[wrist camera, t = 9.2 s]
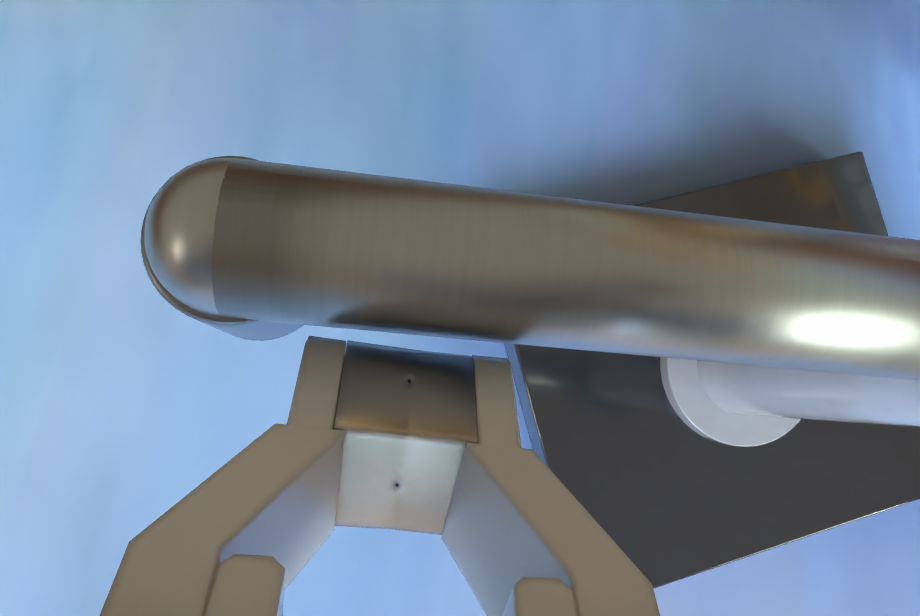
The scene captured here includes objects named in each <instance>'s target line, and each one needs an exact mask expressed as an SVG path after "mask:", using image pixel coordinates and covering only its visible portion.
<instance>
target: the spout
mask: <svg viewBox="0 0 920 616" xmlns="http://www.w3.org/2000/svg"><path fill="white" fill-rule="evenodd" d="M141 253H142V258H143V262H144V266H145V268H146V271H147V274H148V276H149V278H150V280H151V281H152V283H153V285H154V286H155V288H156V289H157V290H158V292H159V293H160V294H161V295H162V297H163V298H164V299H165V300H166V301H167V302H168V303H170V304H171V305H172V306H173V307H175V308H176V309H177V310H179V311H180V312H182V313H184V314H185V315H187V316H189V317H192V318H194V319H196V320H199V321H201V322H203V323H206V324H208V325H210V326H213V327H215V328H217V329H219V330H222V331H224V332H226V333H229V334H231V335H233V336H236V337H239V338H243V339H248V340H259V341H263V340H272V339H276V338H280V337H283V336H286V335H288V334H290V333H292V332H294V331H296V330H297V329H299V328H300V327H302V326H303V325H315V326H325V327H336V328H347V329H358V330H369V331H380V332H391V333H402V334H413V335H424V336H435V337H446V338H457V339H468V340H479V341H490V342H500V343H511V344H522V345H533V346H544V347H555V348H566V349H577V350H588V351H599V352H610V353H621V354H632V355H643V356H654V357H665V358H675V359H686V360H697V361H708V362H719V363H730V364H741V365H752V366H763V367H774V368H785V369H796V370H807V371H818V372H829V373H840V374H850V375H861V376H872V377H883V378H894V379H905V380H916V381H920V240H913V239H905V238H897V237H888V236H880V235H872V234H863V233H855V232H847V231H838V230H830V229H822V228H813V227H805V226H797V225H789V224H780V223H772V222H764V221H755V220H747V219H739V218H730V217H722V216H714V215H705V214H697V213H689V212H680V211H672V210H664V209H655V208H647V207H639V206H630V205H622V204H614V203H605V202H597V201H589V200H580V199H572V198H564V197H555V196H547V195H539V194H530V193H522V192H514V191H505V190H497V189H489V188H480V187H472V186H464V185H455V184H447V183H439V182H430V181H422V180H414V179H405V178H397V177H389V176H380V175H372V174H364V173H356V172H347V171H339V170H331V169H322V168H314V167H306V166H297V165H289V164H281V163H272V162H264V161H259V160H256V159H252V158H246V157H240V156H222V157H214V158H209V159H205V160H202V161H199V162H196V163H194V164H192V165H189V166H187V167H185V168H184V169H182V170H181V171H179V172H178V173H176V174H175V175H173V176H172V177H170V178H169V179H168V180H167V181H166V183H165V184H164V185H163V186H162V187H161V188H160V189H159V190H158V192H157V193H156V195H155V196H154V197H153V199H152V201H151V203H150V205H149V207H148V209H147V211H146V214H145V217H144V220H143V225H142V230H141Z"/></svg>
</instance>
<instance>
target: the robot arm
mask: <svg viewBox="0 0 920 616" xmlns="http://www.w3.org/2000/svg"><path fill="white" fill-rule="evenodd" d="M335 526H348V527H366V528H383V529H395V530H404V531H413V532H422V533H431V534H440V535H442V539H443V541H444V543H445V544H446V546H447V548H448V549H449V551H450V553H451V555H452V556H453V558H454V560H455V562H456V563H457V565H458V567H459V568H460V570H461V572H462V574H463V575H464V577H465V579H466V581H467V582H468V584H469V586H470V587H471V589H472V591H473V593H474V594H475V596H476V598H477V600H478V601H479V603H480V605H481V606H482V608H483V610H484V612H485V613H486V615H487V616H660V613H659V609H658V606H657V602H656V598H655V594H654V590H653V586H652V584H651V582H650V581H649V580H648V579H647V578H646V577H645V576H644V575H643V573H642V572H641V571H640V570H639V569H638V568H637V567H636V566H635V564H634V563H633V562H632V561H631V560H630V559H629V558H628V557H627V555H626V554H625V553H624V552H623V551H622V550H621V549H620V548H619V546H618V545H617V544H616V543H615V542H614V541H613V540H612V539H611V537H610V536H609V535H608V534H607V533H606V532H605V531H604V530H603V528H602V527H601V526H600V525H599V524H598V523H597V522H596V521H595V520H594V518H593V517H592V516H591V515H590V514H589V513H588V512H587V511H586V509H585V508H584V507H583V506H582V505H581V504H580V503H579V502H578V500H577V499H576V498H575V497H574V496H573V495H572V494H571V493H570V491H569V490H568V489H567V488H566V487H565V486H564V485H563V484H562V482H561V481H560V480H559V479H558V478H557V477H556V476H555V475H554V473H553V472H552V471H551V470H550V469H549V468H548V467H547V466H546V465H545V463H544V462H543V461H542V460H541V459H540V458H539V457H538V456H537V454H536V453H535V452H534V451H533V450H532V449H523V448H521V441H520V433H519V425H518V417H517V409H516V401H515V393H514V385H513V377H512V369H511V363H510V362H509V360H508V359H505V358H495V357H484V356H474V355H472V357H471V356H467V355H458V354H449V353H440V352H430V351H421V350H413V349H406V348H398V347H391V346H384V345H377V344H370V343H362V342H355V341H347V346H346V341H343V340H336V339H329V338H321V337H314V336H309V337H308V339H307V341H306V343H305V347H304V352H303V356H302V360H301V365H300V369H299V373H298V378H297V382H296V387H295V391H294V395H293V400H292V404H291V408H290V413H289V417H288V422H287V425H284V424H274V425H273V426H272V427H270V428H269V429H268V430H267V431H266V432H264V433H263V434H262V435H261V436H259V437H258V438H257V439H256V440H254V441H253V442H252V443H251V444H249V445H248V446H247V447H246V448H245V449H243V450H242V451H241V452H240V453H238V454H237V455H236V456H235V457H233V458H232V459H231V460H230V461H228V462H227V463H226V464H225V465H224V466H222V467H221V468H220V469H219V470H217V471H216V472H215V473H214V474H212V475H211V476H210V477H209V478H207V479H206V480H205V481H204V482H202V483H201V484H200V485H199V486H198V487H196V488H195V489H194V490H193V491H191V492H190V493H189V494H188V495H186V496H185V497H184V498H183V499H181V500H180V501H179V502H178V503H177V504H175V505H174V506H173V507H172V508H170V509H169V510H168V511H167V512H165V513H164V514H163V515H162V516H160V517H159V518H158V519H157V520H156V521H154V522H153V523H152V524H151V525H149V526H148V527H147V528H146V529H144V530H143V531H142V532H141V533H139V534H138V535H137V536H136V537H134V538H133V539H132V540H131V541H130V542H129V544H128V546H127V549H126V551H125V554H124V556H123V559H122V561H121V564H120V566H119V569H118V571H117V574H116V576H115V579H114V581H113V584H112V586H111V589H110V591H109V594H108V596H107V599H106V601H105V604H104V606H103V609H102V611H101V614H100V616H283V599H284V591H285V589H286V588H287V587H288V586H289V584H290V583H291V582H292V581H293V580H294V578H295V577H296V576H297V575H298V573H299V572H300V571H301V570H302V569H303V567H304V566H305V565H306V564H307V562H308V561H309V560H310V559H311V558H312V556H313V555H314V554H315V553H316V552H317V550H318V549H319V548H320V547H321V545H322V544H323V543H324V542H325V541H326V539H327V538H328V537H329V536H330V534H331V533H332V532H333V531H334V529H335Z"/></svg>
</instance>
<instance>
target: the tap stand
mask: <svg viewBox="0 0 920 616" xmlns="http://www.w3.org/2000/svg"><path fill="white" fill-rule="evenodd" d="M633 206H639V207H647V208H655V209H664V210H672V211H680V212H689V213H697V214H705V215H714V216H722V217H730V218H739V219H747V220H755V221H764V222H772V223H780V224H789V225H797V226H805V227H813V228H822V229H830V230H838V231H847V232H855V233H863V234H872V235H880V236H888V233H887V230H886V227H885V224H884V221H883V218H882V214H881V211H880V208H879V205H878V202H877V198H876V195H875V192H874V189H873V186H872V182H871V179H870V176H869V173H868V170H867V166H866V163H865V160H864V157H863V154H862V152H855V153H851V154H847V155H843V156H838V157H834V158H830V159H826V160H822V161H817V162H813V163H809V164H805V165H801V166H796V167H792V168H788V169H784V170H780V171H776V172H771V173H767V174H763V175H759V176H755V177H750V178H746V179H742V180H738V181H734V182H729V183H725V184H721V185H717V186H713V187H708V188H704V189H700V190H696V191H692V192H687V193H683V194H679V195H675V196H671V197H667V198H662V199H658V200H654V201H650V202H646V203H641V204H637V205H633ZM504 344H505V348H506V351H507V355H508V359H509V362H510V363H511V369H512V374H513V377H514V381H515V385H516V388H517V392H518V396H519V400H520V403H521V407H522V411H523V414H524V418H525V422H526V426H527V429H528V433H529V437H530V440H531V444H532V448H533V451H534V452H535V453H536V454H537V456H538V457H539V458H540V459H541V460H542V461H543V462H544V463H545V465H546V466H547V467H548V468H549V469H550V470H551V471H552V472H553V473H554V475H555V476H556V477H557V478H558V479H559V480H560V481H561V482H562V484H563V485H564V486H565V487H566V488H567V489H568V490H569V491H570V493H571V494H572V495H573V496H574V497H575V498H576V499H577V500H578V502H579V503H580V504H581V505H582V506H583V507H584V508H585V509H586V511H587V512H588V513H589V514H590V515H591V516H592V517H593V518H594V520H595V521H596V522H597V523H598V524H599V525H600V526H601V527H602V528H603V530H604V531H605V532H606V533H607V534H608V535H609V536H610V537H611V539H612V540H613V541H614V542H615V543H616V544H617V545H618V546H619V548H620V549H621V550H622V551H623V552H624V553H625V554H626V555H627V557H628V558H629V559H630V560H631V561H632V562H633V563H634V564H635V566H636V567H637V568H638V569H639V570H640V571H641V572H642V573H643V575H644V576H645V577H646V578H647V579H648V580H649V581H650V582H651V584H652V586H653V588H656V587H659V586H662V585H665V584H668V583H671V582H674V581H677V580H680V579H683V578H686V577H689V576H692V575H695V574H698V573H701V572H704V571H707V570H710V569H713V568H716V567H719V566H722V565H725V564H728V563H731V562H734V561H737V560H739V559H742V558H745V557H748V556H751V555H754V554H757V553H760V552H763V551H766V550H769V549H772V548H775V547H778V546H781V545H784V544H787V543H790V542H793V541H796V540H799V539H802V538H805V537H808V536H811V535H814V534H817V533H820V532H823V531H826V530H829V529H831V528H834V527H837V526H840V525H843V524H846V523H849V522H852V521H855V520H858V519H861V518H864V517H867V516H870V515H873V514H876V513H879V512H882V511H885V510H888V509H891V508H894V507H897V506H900V505H903V504H906V503H909V502H912V501H915V500H918V499H920V381H916V380H905V379H894V378H883V377H872V376H861V375H850V374H840V373H829V372H818V371H807V370H796V369H785V368H774V367H763V366H752V365H741V364H730V363H719V362H708V361H697V360H686V359H675V358H665V357H654V356H643V355H632V354H621V353H610V352H599V351H588V350H577V349H566V348H555V347H544V346H533V345H522V344H511V343H504Z"/></svg>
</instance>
